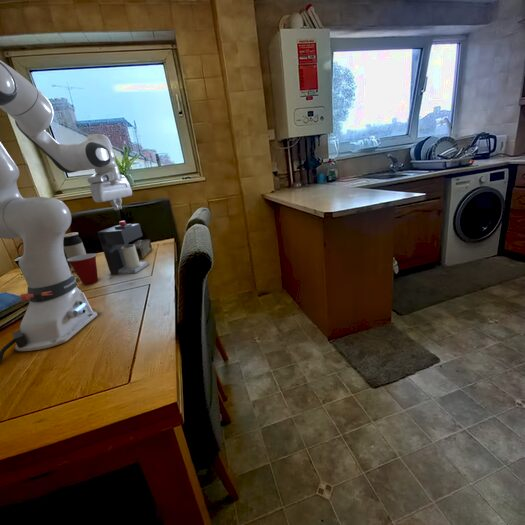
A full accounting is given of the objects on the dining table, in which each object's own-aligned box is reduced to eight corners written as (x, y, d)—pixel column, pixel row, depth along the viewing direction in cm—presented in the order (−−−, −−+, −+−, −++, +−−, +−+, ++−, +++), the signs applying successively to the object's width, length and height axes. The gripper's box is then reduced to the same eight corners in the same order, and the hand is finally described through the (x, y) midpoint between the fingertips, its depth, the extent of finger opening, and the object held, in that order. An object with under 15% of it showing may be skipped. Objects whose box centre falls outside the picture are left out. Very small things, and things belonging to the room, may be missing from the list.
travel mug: (82, 271, 136) (69, 236, 129) (68, 272, 137) (55, 237, 131) (94, 265, 143) (82, 231, 137) (81, 266, 144) (68, 232, 138)
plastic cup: (109, 275, 126) (101, 250, 121) (94, 286, 115) (84, 259, 111) (88, 277, 127) (79, 252, 123) (70, 287, 117) (60, 261, 113)
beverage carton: (153, 248, 161) (150, 237, 159) (143, 259, 143) (139, 247, 141) (139, 250, 161) (136, 239, 158) (127, 261, 143) (123, 249, 140)
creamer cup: (137, 267, 128) (132, 247, 125) (124, 268, 128) (118, 249, 124) (141, 262, 134) (136, 243, 130) (129, 264, 133) (123, 245, 130)
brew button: (123, 225, 122) (122, 221, 122) (118, 225, 123) (117, 222, 122) (127, 224, 124) (126, 220, 124) (122, 224, 125) (121, 220, 124)
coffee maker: (133, 274, 124) (120, 228, 117) (110, 274, 127) (96, 230, 120) (150, 263, 136) (138, 221, 129) (129, 264, 139) (116, 222, 131)
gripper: (119, 175, 126) (127, 206, 131) (83, 179, 108) (94, 214, 112) (131, 174, 125) (139, 205, 130) (97, 177, 106) (108, 213, 111)
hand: (118, 209), depth 121 cm, fingers closed
